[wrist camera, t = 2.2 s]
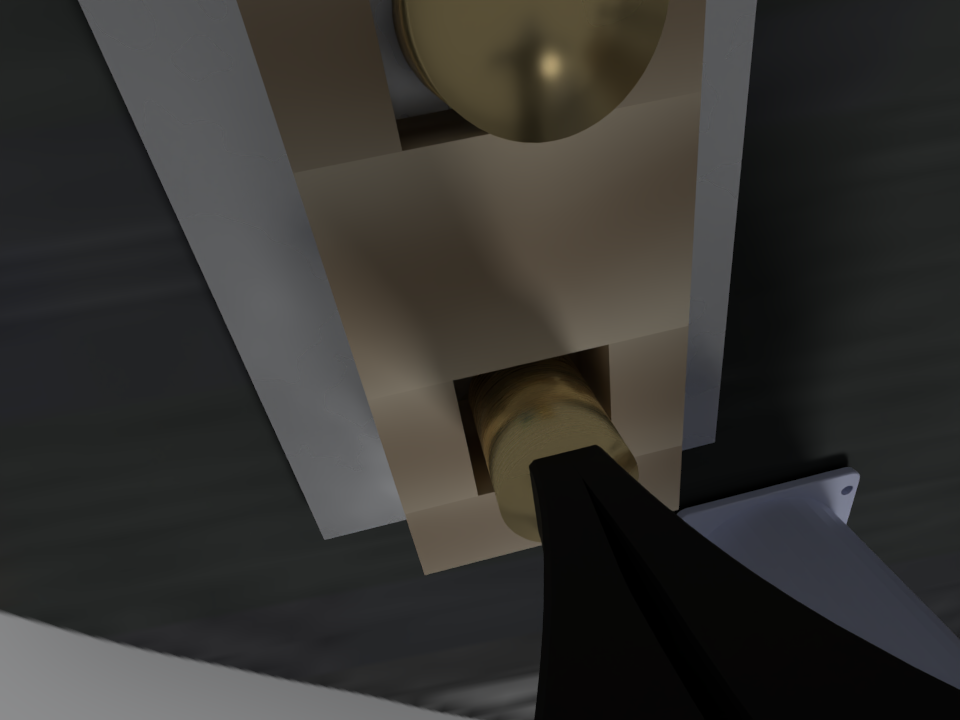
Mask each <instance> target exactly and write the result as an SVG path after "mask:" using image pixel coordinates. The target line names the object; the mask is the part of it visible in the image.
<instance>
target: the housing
mask: <svg viewBox="0 0 960 720" xmlns="http://www.w3.org/2000/svg"><path fill="white" fill-rule="evenodd" d="M236 1H237V4H238V7H239V10H240V13H241V16H242V19H243V22H244V25H245V28H246V31H247V35H248V38H249V41H250V44H251V47H252V50H253V53H254V56H255V59H256V62H257V65H258V68H259V71H260V74H261V77H262V80H263V83H264V86H265V89H266V92H267V95H268V99H269V102H270V105H271V108H272V111H273V114H274V117H275V120H276V123H277V126H278V129H279V132H280V135H281V138H282V141H283V144H284V147H285V150H286V153H287V156H288V159H289V163H290V166H291V169H292V172H293V175H294V178H295V181H296V184H297V187H298V190H299V193H300V196H301V199H302V202H303V205H304V208H305V211H306V214H307V217H308V220H309V223H310V227H311V230H312V233H313V236H314V239H315V242H316V245H317V248H318V251H319V254H320V257H321V260H322V263H323V266H324V269H325V272H326V275H327V278H328V281H329V284H330V287H331V291H332V294H333V297H334V300H335V303H336V306H337V309H338V312H339V315H340V318H341V321H342V324H343V327H344V330H345V333H346V336H347V339H348V342H349V345H350V348H351V351H352V355H353V358H354V361H355V364H356V367H357V370H358V373H359V376H360V379H361V382H362V385H363V388H364V391H365V394H366V397H367V400H368V403H369V406H370V409H371V412H372V415H373V419H374V422H375V425H376V428H377V431H378V434H379V437H380V440H381V443H382V446H383V449H384V452H385V455H386V458H387V461H388V464H389V467H390V470H391V473H392V476H393V480H394V483H395V486H396V489H397V492H398V495H399V498H400V501H401V504H402V507H403V510H404V513H405V516H406V519H407V522H408V525H409V528H410V531H411V534H412V537H413V540H414V544H415V547H416V550H417V553H418V556H419V559H420V562H421V565H422V568H423V571H424V574H425V575H427V574H431V573H435V572H439V571H442V570H446V569H450V568H454V567H458V566H462V565H466V564H470V563H473V562H477V561H481V560H485V559H489V558H493V557H497V556H501V555H504V554H508V553H512V552H516V551H520V550H524V549H528V548H532V547H535V546H539V545H542V543H539V542H534V541H531V540H527V539H525V538H523V537H521V536H519V535H517V534H516V533H514V532H513V531H512V530H511V529H510V528H509V527H508V526H507V525H506V524H505V522H504V520H503V518H502V516H501V513H500V510H499V506H498V503H497V499H496V496H495V492H494V488H493V485H492V481H491V478H490V474H489V471H488V467H487V464H486V460H485V457H484V453H483V450H482V446H481V443H480V439H479V436H478V432H477V429H476V425H475V422H474V418H473V415H472V411H471V408H470V404H469V399H467V400H462V401H458V402H457V397H456V393H455V388H454V383H453V380H458V379H462V378H466V377H471V376H475V375H479V374H483V373H488V372H492V371H496V370H501V369H505V368H509V367H514V366H518V365H522V364H526V363H531V362H535V361H539V360H544V359H548V358H552V357H557V356H561V355H565V354H567V355H568V356H569V357H570V358H571V360H572V361H573V363H574V364H575V366H576V367H577V369H578V370H579V372H580V373H581V375H582V377H583V378H584V380H585V381H586V383H587V384H588V386H589V387H590V389H591V391H592V392H593V394H594V395H595V397H596V398H597V400H598V401H599V403H600V405H601V406H602V408H603V409H604V411H605V412H606V414H607V415H608V417H609V419H610V420H611V422H612V423H613V425H614V426H615V428H616V429H617V431H618V432H619V434H620V436H621V437H622V439H623V440H624V442H625V443H626V445H627V446H628V448H629V450H630V451H631V453H632V454H633V456H634V458H635V460H636V462H637V466H638V471H639V479H638V482H639V483H640V484H641V485H642V486H643V487H644V488H646V489H647V490H648V491H649V492H650V493H651V494H652V495H654V496H655V497H656V498H657V499H658V500H659V501H661V502H662V503H663V504H664V505H666V506H667V507H668V508H669V509H670V510H672V511H675V510H679V496H680V477H681V459H682V440H683V422H684V403H685V384H686V366H687V347H688V329H689V310H690V291H691V273H692V254H693V236H694V217H695V199H696V180H697V161H698V143H699V124H700V106H701V87H702V68H703V50H704V31H705V13H706V0H669V5H668V10H667V16H666V20H665V23H664V27H663V30H662V34H661V37H660V39H659V42H658V44H657V47H656V50H655V52H654V54H653V56H652V58H651V60H650V62H649V64H648V66H647V68H646V70H645V72H644V73H643V75H642V76H641V78H640V79H639V81H638V82H637V84H636V85H635V87H634V88H633V89H632V90H631V92H630V93H629V94H628V95H627V97H626V98H625V99H624V100H623V101H622V102H621V103H620V104H619V105H618V106H617V107H616V108H615V109H614V110H613V111H612V112H611V113H609V114H608V115H607V116H606V117H604V118H603V119H602V120H600V121H599V122H598V123H596V124H594V125H593V126H591V127H589V128H587V129H586V130H584V131H582V132H579V133H577V134H575V135H572V136H570V137H567V138H563V139H560V140H556V141H550V142H542V143H523V142H516V141H510V140H506V139H503V138H500V137H497V136H494V135H492V134H490V133H487V132H485V131H483V130H481V129H479V128H478V127H476V126H475V125H473V124H472V123H470V122H469V121H467V120H466V119H464V118H463V117H462V116H461V115H460V114H458V113H457V112H456V111H455V110H453V109H448V110H443V111H438V112H433V113H428V114H423V115H417V116H412V117H407V118H402V119H397V120H395V115H394V111H393V106H392V102H391V97H390V93H389V88H388V84H387V79H386V75H385V70H384V65H383V61H382V56H381V52H380V47H379V43H378V38H377V34H376V29H375V25H374V20H373V15H372V11H371V6H370V2H369V0H236Z"/></svg>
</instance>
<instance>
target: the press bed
mask: <svg viewBox="0 0 960 720" xmlns="http://www.w3.org/2000/svg"><path fill="white" fill-rule="evenodd" d="M78 1H79V3H80V5H81V8H82V10H83V12H84V14H85V16H86V19H87V21H88V23H89V25H90V27H91V30H92V32H93V34H94V36H95V38H96V40H97V43H98V45H99V47H100V49H101V51H102V54H103V56H104V58H105V60H106V62H107V65H108V67H109V69H110V71H111V73H112V75H113V78H114V80H115V82H116V84H117V86H118V89H119V91H120V93H121V95H122V97H123V100H124V102H125V104H126V106H127V108H128V111H129V113H130V115H131V117H132V119H133V121H134V124H135V126H136V128H137V130H138V132H139V135H140V137H141V139H142V141H143V143H144V146H145V148H146V150H147V152H148V154H149V157H150V159H151V161H152V163H153V165H154V167H155V170H156V172H157V174H158V176H159V178H160V181H161V183H162V185H163V187H164V189H165V192H166V194H167V196H168V198H169V200H170V203H171V205H172V207H173V209H174V211H175V213H176V216H177V218H178V220H179V222H180V224H181V227H182V229H183V231H184V233H185V235H186V238H187V240H188V242H189V244H190V246H191V249H192V251H193V253H194V255H195V257H196V259H197V262H198V264H199V266H200V268H201V270H202V273H203V275H204V277H205V279H206V281H207V284H208V286H209V288H210V290H211V292H212V295H213V297H214V299H215V301H216V303H217V305H218V308H219V310H220V312H221V314H222V316H223V319H224V321H225V323H226V325H227V327H228V330H229V332H230V334H231V336H232V338H233V341H234V343H235V345H236V347H237V349H238V351H239V354H240V356H241V358H242V360H243V362H244V365H245V367H246V369H247V371H248V373H249V376H250V378H251V380H252V382H253V384H254V386H255V389H256V391H257V393H258V395H259V397H260V400H261V402H262V404H263V406H264V408H265V411H266V413H267V415H268V417H269V419H270V422H271V424H272V426H273V428H274V430H275V432H276V435H277V437H278V439H279V441H280V443H281V446H282V448H283V450H284V452H285V454H286V457H287V459H288V461H289V463H290V465H291V468H292V470H293V472H294V474H295V476H296V478H297V481H298V483H299V485H300V487H301V489H302V492H303V494H304V496H305V498H306V500H307V503H308V505H309V507H310V509H311V511H312V514H313V516H314V518H315V520H316V522H317V524H318V527H319V529H320V531H321V533H322V535H323V538H324V540H326V539H330V538H334V537H338V536H342V535H346V534H350V533H354V532H358V531H362V530H366V529H370V528H374V527H378V526H382V525H386V524H390V523H394V522H398V521H402V520H406V516H405V513H404V510H403V507H402V504H401V501H400V498H399V495H398V492H397V489H396V486H395V483H394V480H393V476H392V473H391V470H390V467H389V464H388V461H387V458H386V455H385V452H384V449H383V446H382V443H381V440H380V437H379V434H378V431H377V428H376V425H375V422H374V419H373V415H372V412H371V409H370V406H369V403H368V400H367V397H366V394H365V391H364V388H363V385H362V382H361V379H360V376H359V373H358V370H357V367H356V364H355V361H354V358H353V355H352V351H351V348H350V345H349V342H348V339H347V336H346V333H345V330H344V327H343V324H342V321H341V318H340V315H339V312H338V309H337V306H336V303H335V300H334V297H333V294H332V291H331V287H330V284H329V281H328V278H327V275H326V272H325V269H324V266H323V263H322V260H321V257H320V254H319V251H318V248H317V245H316V242H315V239H314V236H313V233H312V230H311V227H310V223H309V220H308V217H307V214H306V211H305V208H304V205H303V202H302V199H301V196H300V193H299V190H298V187H297V184H296V181H295V178H294V175H293V172H292V169H291V166H290V163H289V159H288V156H287V153H286V150H285V147H284V144H283V141H282V138H281V135H280V132H279V129H278V126H277V123H276V120H275V117H274V114H273V111H272V108H271V105H270V102H269V99H268V95H267V92H266V89H265V86H264V83H263V80H262V77H261V74H260V71H259V68H258V65H257V62H256V59H255V56H254V53H253V50H252V47H251V44H250V41H249V38H248V35H247V31H246V28H245V25H244V22H243V19H242V16H241V13H240V10H239V7H238V4H237V1H236V0H78ZM369 2H370V6H371V11H372V15H373V20H374V25H375V29H376V34H377V38H378V43H379V47H380V52H381V56H382V61H383V65H384V70H385V75H386V79H387V84H388V88H389V93H390V97H391V102H392V106H393V111H394V115H395V120H397V119H402V118H407V117H412V116H417V115H423V114H428V113H433V112H438V111H443V110H448V109H452V108H451V107H450V106H448V105H447V104H446V103H445V102H443V101H442V100H441V99H440V98H438V97H437V96H436V95H435V94H433V93H432V92H431V91H430V90H429V89H428V88H426V87H425V86H424V85H423V84H422V83H421V82H420V80H419V79H418V78H417V77H416V76H415V74H414V73H413V72H412V70H411V69H410V67H409V66H408V64H407V62H406V60H405V58H404V56H403V54H402V52H401V49H400V47H399V44H398V41H397V37H396V34H395V30H394V24H393V17H392V0H369ZM756 4H757V0H706V13H705V31H704V50H703V68H702V87H701V106H700V124H699V143H698V161H697V180H696V199H695V217H694V236H693V254H692V273H691V291H690V310H689V329H688V347H687V366H686V384H685V403H684V422H683V440H682V450H686V449H690V448H694V447H698V446H702V445H706V444H710V443H714V442H715V436H716V425H717V415H718V404H719V394H720V383H721V373H722V362H723V352H724V341H725V331H726V320H727V309H728V299H729V288H730V278H731V267H732V257H733V246H734V236H735V225H736V215H737V204H738V194H739V183H740V173H741V162H742V152H743V141H744V130H745V120H746V109H747V99H748V88H749V78H750V67H751V57H752V46H753V36H754V25H755V15H756ZM472 377H473V376H471V377H466V378H462V379H458V380H453V383H454V388H455V393H456V397H457V402H458V401H462V400H467V399H469V398H468V396H469V387H470V383H471V380H472Z"/></svg>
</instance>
